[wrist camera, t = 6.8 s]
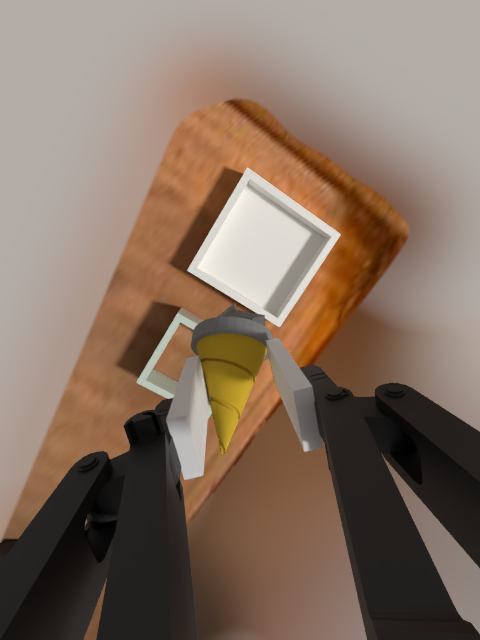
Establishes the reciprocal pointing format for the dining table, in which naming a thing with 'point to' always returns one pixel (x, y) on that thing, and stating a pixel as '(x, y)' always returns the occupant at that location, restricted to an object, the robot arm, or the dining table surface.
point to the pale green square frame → (149, 375)
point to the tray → (263, 249)
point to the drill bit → (230, 363)
